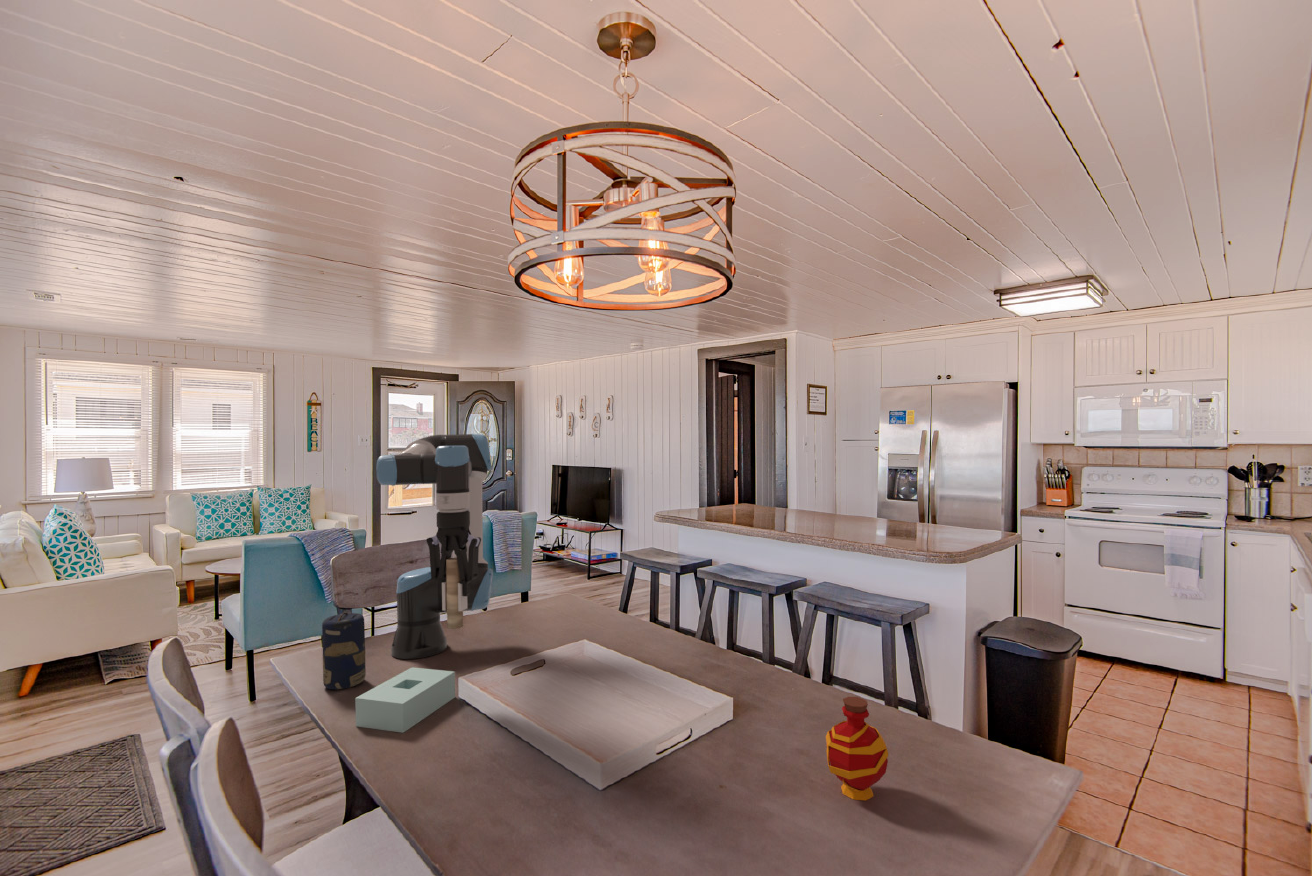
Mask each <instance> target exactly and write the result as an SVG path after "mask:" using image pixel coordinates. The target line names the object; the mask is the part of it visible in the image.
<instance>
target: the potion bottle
mask: <svg viewBox="0 0 1312 876" xmlns="http://www.w3.org/2000/svg"><path fill="white" fill-rule="evenodd" d="M842 702H843V704H844V705H843V706H842V707H841V710H842V714H843V716H845V717H846V720H842V721H840V722H838V723H836V724H835V725H834V726H832V727H831V729H830V730H828V731H827V733H826V735H825V742H826V760H827V766H828V769H829V772H830V774H833V775H834V776H836V778H837V779H838V780H840V781H841V783H842V785H841V786H840V788H841V793H842V795H844V796H846V797H848V798H849V799H852V800H856V801H869V800H870V799H872V798H873V797H874V793H873V790H872V788H871V787H872V786H873V785H875V784H876V783H878V782H879V781H880V780H881V779H882V778H883V777H884V775H885V774H886V773H887V766H888V764H889V763H888V762H889V760H888V757H889V752H888V751H889V750H888V748H887V745H886V741H885V739H884V737H883V736H882V735H881V733H880V732H879V731H878V729H877V728H876V727H874V726H871V725H870V724H868V723H867V722H866V721H865V719H867V718H869V716H870V713H869V710H868V701H867V699H864V698H861V697H859V696H847V697H844V698H842Z"/></svg>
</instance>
